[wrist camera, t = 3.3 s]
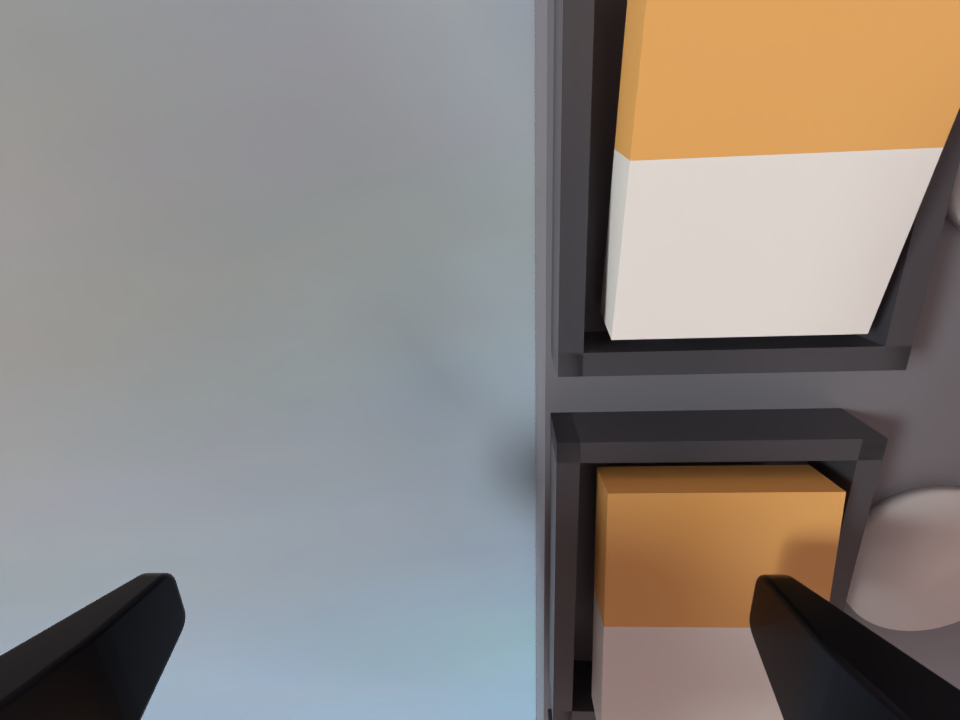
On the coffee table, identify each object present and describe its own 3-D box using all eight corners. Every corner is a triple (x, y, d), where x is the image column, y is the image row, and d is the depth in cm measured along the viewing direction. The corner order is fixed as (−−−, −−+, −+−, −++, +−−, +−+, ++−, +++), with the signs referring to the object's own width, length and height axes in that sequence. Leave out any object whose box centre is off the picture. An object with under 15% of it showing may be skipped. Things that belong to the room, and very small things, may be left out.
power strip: (809, 853, 18) (894, 1038, 14) (536, 844, 19) (545, 1020, 15) (1106, -167, 9) (1611, -464, 5) (534, -124, 9) (558, -359, 5)
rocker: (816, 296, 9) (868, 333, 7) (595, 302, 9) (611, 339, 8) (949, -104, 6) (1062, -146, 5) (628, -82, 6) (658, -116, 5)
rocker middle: (767, 681, 11) (807, 746, 9) (588, 678, 11) (600, 742, 9) (796, 455, 9) (846, 492, 8) (593, 458, 10) (607, 493, 8)
